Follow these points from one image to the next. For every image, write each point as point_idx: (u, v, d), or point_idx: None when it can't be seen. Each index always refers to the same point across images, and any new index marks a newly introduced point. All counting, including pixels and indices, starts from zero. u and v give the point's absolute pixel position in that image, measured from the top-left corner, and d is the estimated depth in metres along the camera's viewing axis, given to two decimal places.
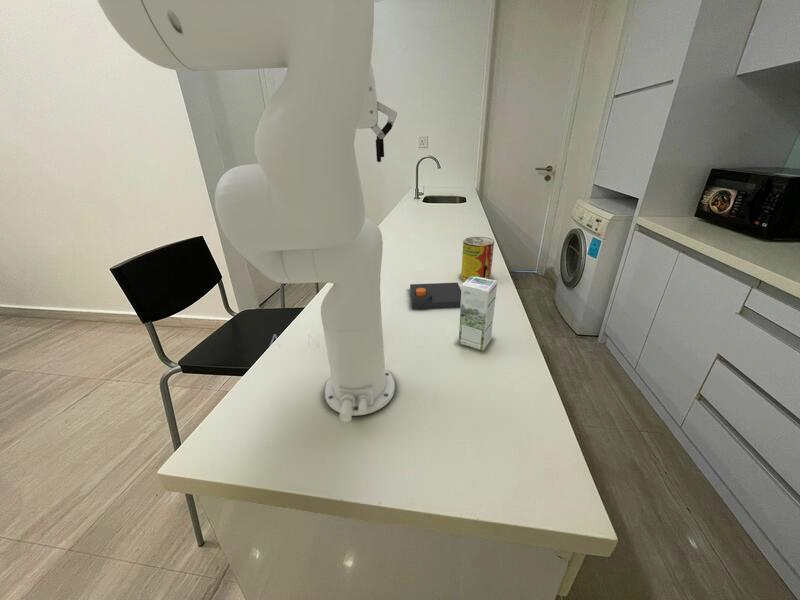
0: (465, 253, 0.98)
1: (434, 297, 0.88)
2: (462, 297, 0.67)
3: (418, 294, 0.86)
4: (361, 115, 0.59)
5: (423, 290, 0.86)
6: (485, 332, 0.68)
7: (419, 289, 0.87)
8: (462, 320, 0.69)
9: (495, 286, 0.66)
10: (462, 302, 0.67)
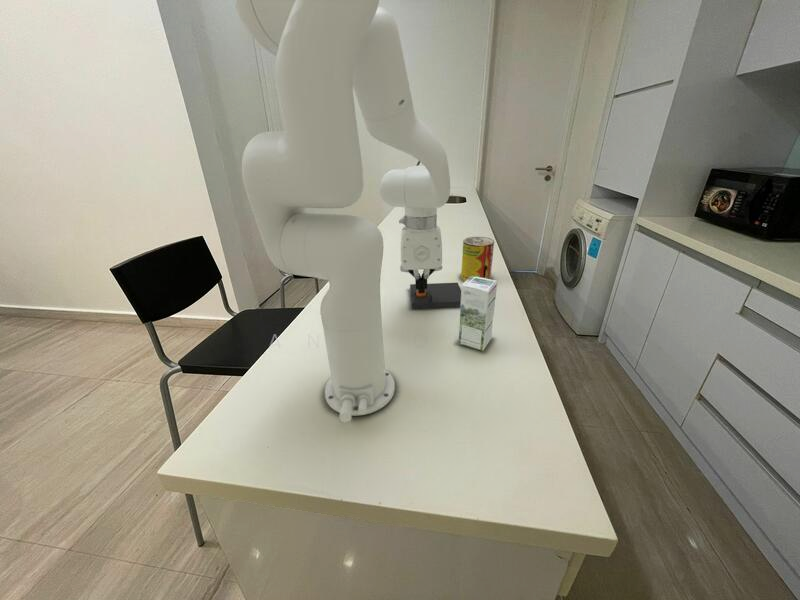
0: (465, 253, 0.98)
1: (434, 297, 0.88)
2: (462, 297, 0.67)
3: (418, 295, 0.86)
4: (431, 261, 0.80)
5: None
6: (485, 332, 0.68)
7: None
8: (462, 320, 0.69)
9: (495, 286, 0.66)
10: (462, 302, 0.67)
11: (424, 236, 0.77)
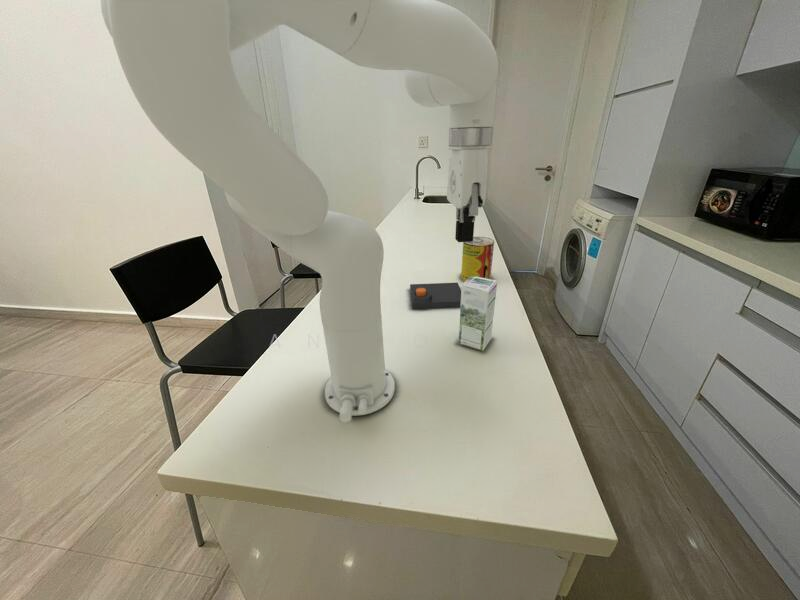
0: (465, 253, 0.98)
1: (434, 297, 0.88)
2: (462, 297, 0.67)
3: (418, 294, 0.86)
4: (455, 196, 0.60)
5: (423, 290, 0.86)
6: (485, 332, 0.68)
7: (419, 289, 0.87)
8: (462, 320, 0.69)
9: (495, 286, 0.66)
10: (462, 302, 0.67)
11: (455, 157, 0.59)
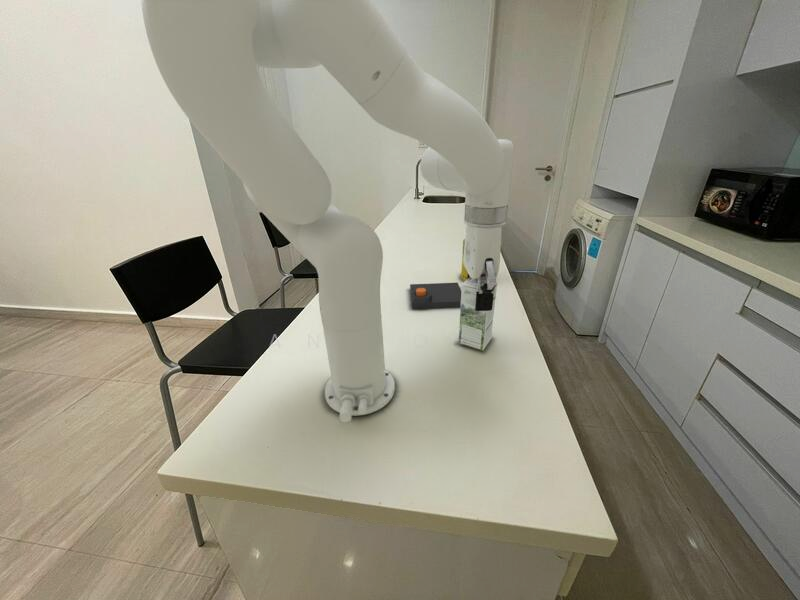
0: None
1: (434, 297, 0.88)
2: (462, 297, 0.67)
3: (418, 294, 0.86)
4: (469, 267, 0.62)
5: (423, 290, 0.86)
6: (485, 332, 0.68)
7: (419, 289, 0.87)
8: (462, 319, 0.69)
9: (495, 286, 0.66)
10: (462, 301, 0.67)
11: (470, 231, 0.61)
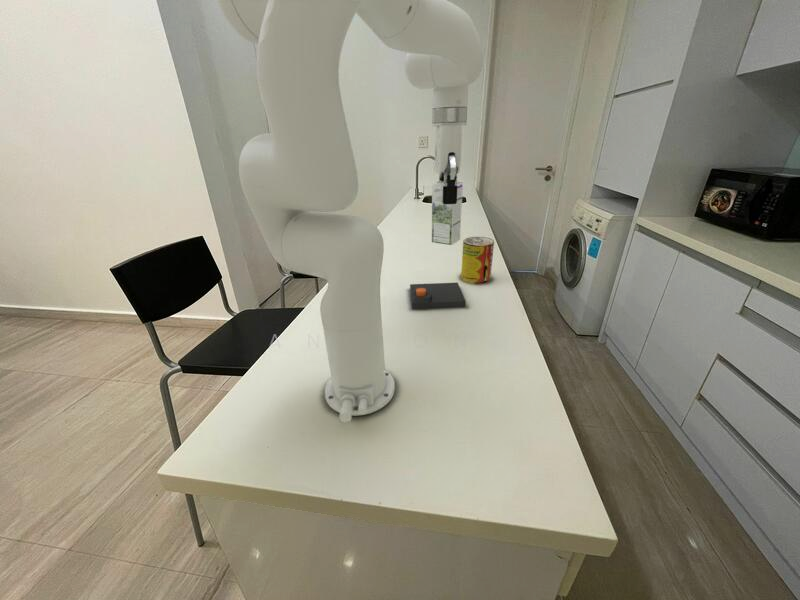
0: (465, 253, 0.98)
1: (434, 297, 0.88)
2: (433, 195, 0.79)
3: (418, 294, 0.86)
4: (437, 164, 0.75)
5: (423, 290, 0.86)
6: (453, 226, 0.80)
7: (419, 289, 0.87)
8: (433, 218, 0.81)
9: (461, 186, 0.79)
10: (433, 200, 0.79)
11: (437, 133, 0.73)
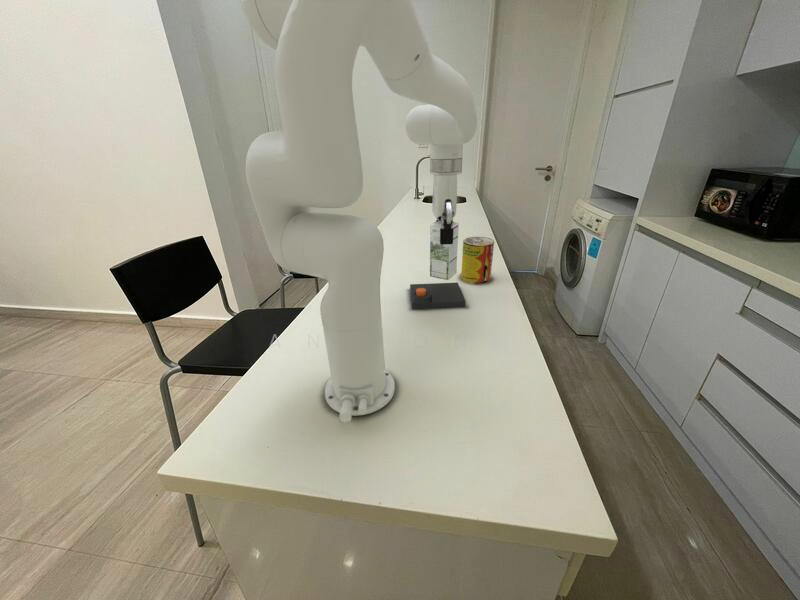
0: (465, 253, 0.98)
1: (434, 297, 0.88)
2: (431, 235, 0.85)
3: (418, 294, 0.86)
4: (434, 208, 0.80)
5: (423, 290, 0.86)
6: (449, 263, 0.86)
7: (419, 289, 0.87)
8: (431, 255, 0.87)
9: (457, 226, 0.85)
10: (431, 239, 0.85)
11: (434, 180, 0.79)
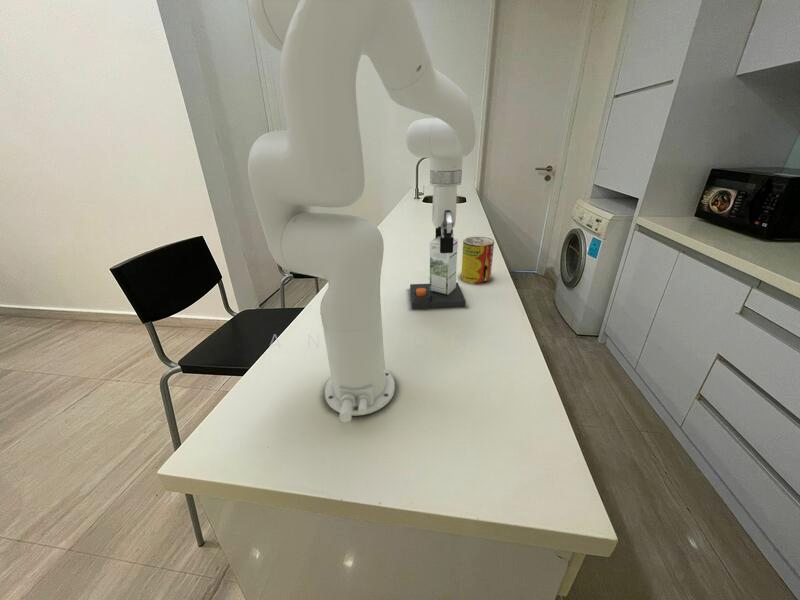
0: (465, 253, 0.98)
1: (434, 297, 0.88)
2: (430, 251, 0.87)
3: (418, 294, 0.86)
4: (434, 219, 0.81)
5: (423, 290, 0.86)
6: (449, 279, 0.88)
7: (419, 289, 0.87)
8: (431, 270, 0.89)
9: (456, 243, 0.86)
10: (431, 255, 0.87)
11: (434, 191, 0.80)
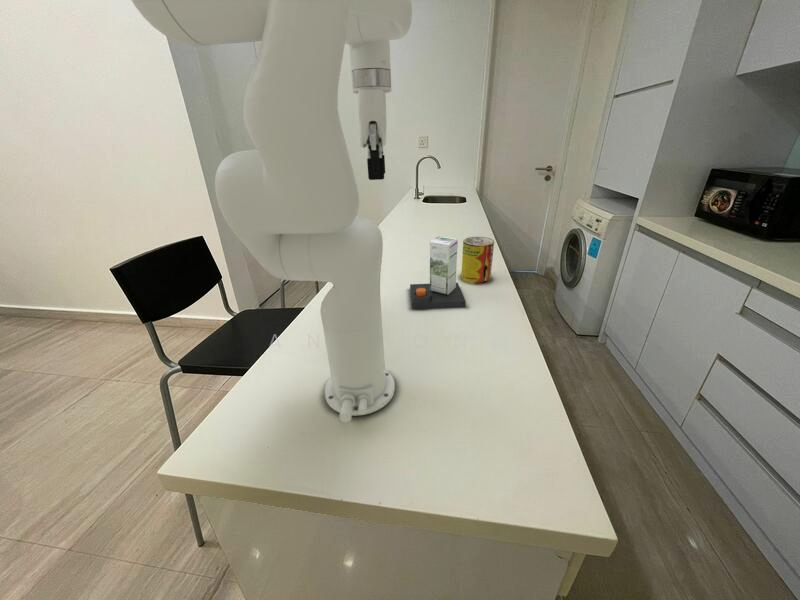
0: (465, 253, 0.98)
1: (434, 297, 0.88)
2: (430, 251, 0.86)
3: (418, 294, 0.86)
4: None
5: (423, 290, 0.86)
6: (449, 279, 0.88)
7: (419, 289, 0.87)
8: (431, 270, 0.89)
9: (456, 243, 0.86)
10: (431, 255, 0.87)
11: None
